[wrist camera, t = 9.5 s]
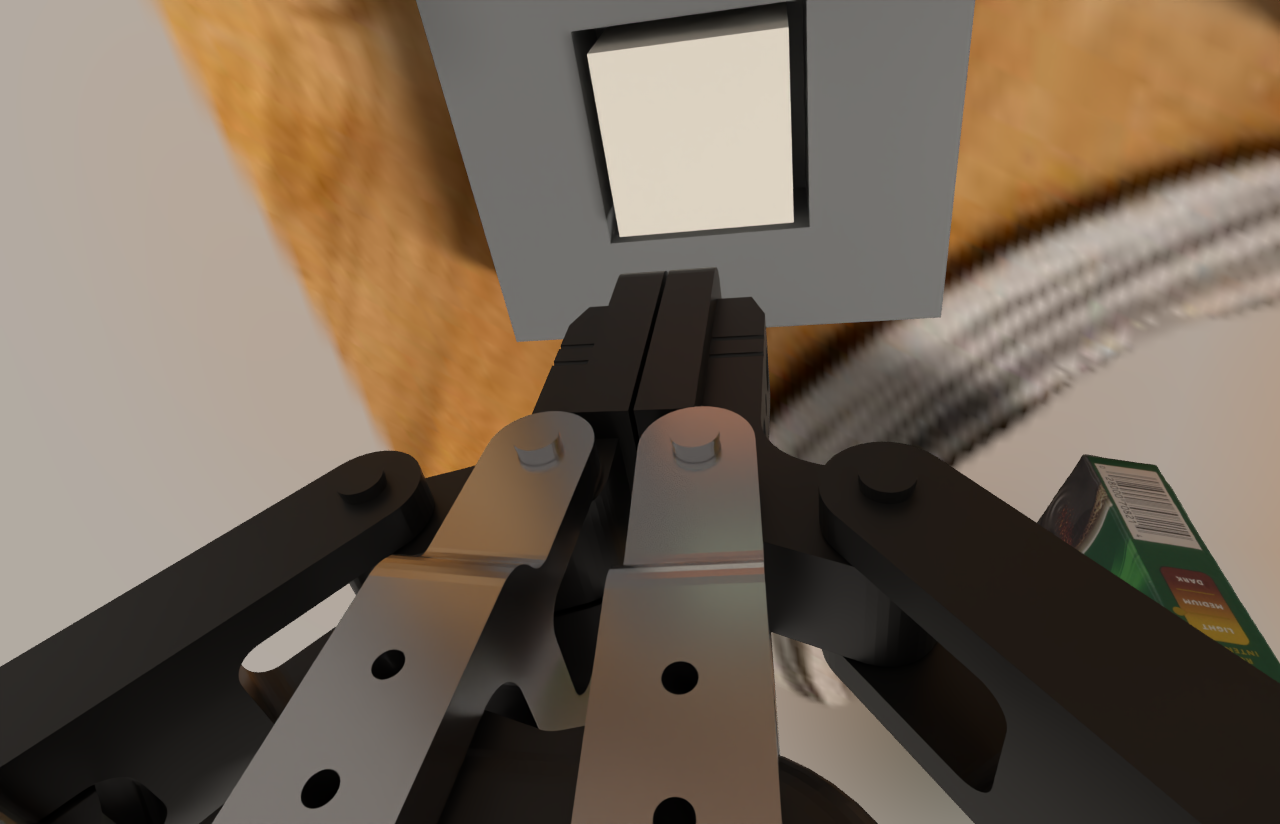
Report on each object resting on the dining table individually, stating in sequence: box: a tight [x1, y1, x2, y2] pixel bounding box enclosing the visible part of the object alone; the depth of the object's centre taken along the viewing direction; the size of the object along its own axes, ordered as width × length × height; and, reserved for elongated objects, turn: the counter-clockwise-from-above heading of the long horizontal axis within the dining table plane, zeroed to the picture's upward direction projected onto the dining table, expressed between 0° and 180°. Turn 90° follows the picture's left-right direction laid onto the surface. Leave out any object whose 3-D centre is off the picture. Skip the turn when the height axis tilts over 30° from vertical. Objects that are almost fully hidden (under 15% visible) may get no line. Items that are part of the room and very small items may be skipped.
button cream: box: [587, 1, 794, 237], centre depth 19 cm, size 4×4×3 cm
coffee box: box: [1037, 455, 1280, 683], centre depth 23 cm, size 8×3×13 cm, turn 173°
